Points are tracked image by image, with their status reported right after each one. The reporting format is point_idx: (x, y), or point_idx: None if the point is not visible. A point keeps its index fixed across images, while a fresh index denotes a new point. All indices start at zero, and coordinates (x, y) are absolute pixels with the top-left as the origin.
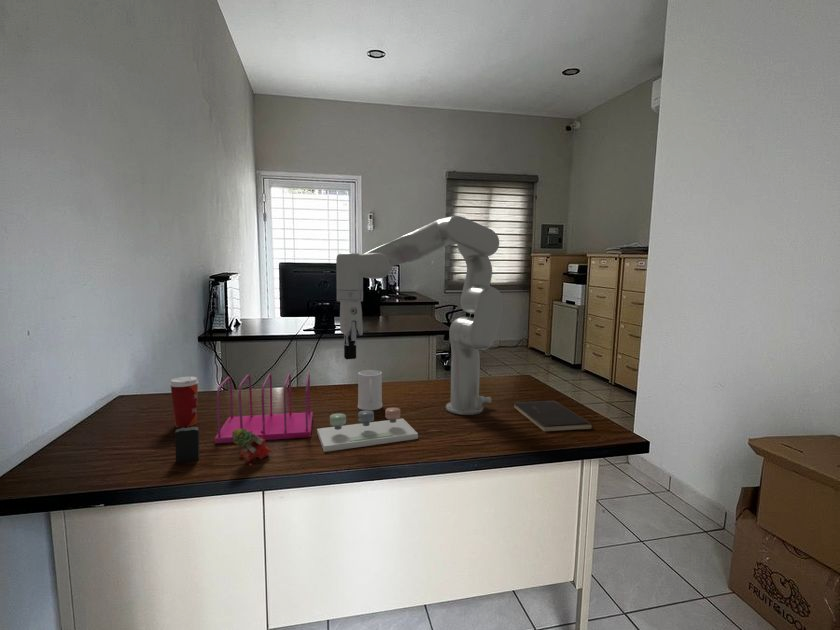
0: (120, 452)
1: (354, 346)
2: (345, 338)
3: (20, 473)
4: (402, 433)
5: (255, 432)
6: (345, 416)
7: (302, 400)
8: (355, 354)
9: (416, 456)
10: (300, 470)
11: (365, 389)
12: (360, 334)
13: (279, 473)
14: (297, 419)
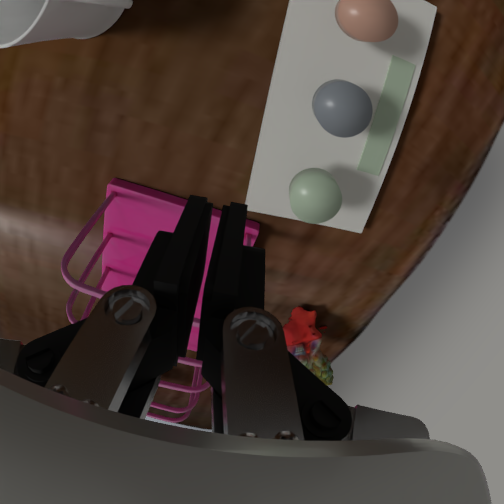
0: (189, 397)
1: (237, 302)
2: (142, 417)
3: (208, 427)
4: (415, 35)
5: None
6: (335, 183)
7: (2, 174)
8: (244, 229)
9: (494, 86)
10: (394, 279)
11: (76, 17)
12: (379, 457)
13: (379, 303)
14: (154, 231)
